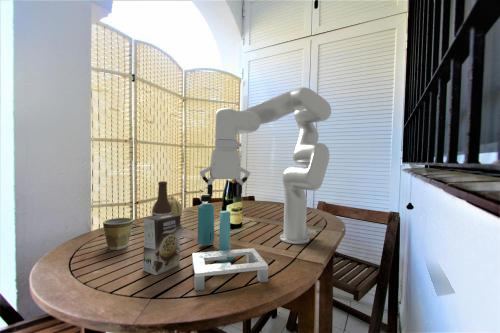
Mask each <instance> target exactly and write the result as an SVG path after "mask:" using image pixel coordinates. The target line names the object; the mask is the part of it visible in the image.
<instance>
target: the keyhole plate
mask: <svg viewBox="0 0 500 333" xmlns="http://www.w3.org/2000/svg"><path fill="white" fill-rule="evenodd" d="M231 256H234V257H239V256H240V257H241V256H246V263H239V264H238V263H236V264H232V263H231V262H219V263H212V264H206V263H205V262H208V261H210V262H211V261H216V260H222V259H227V257H231ZM191 257H192V258H191V262H192V263H191V264H192V265H191V267H192V272H193V271H194V282H193V283H194V291H202V290H203V291H204V290H205V277H207V276H217V275H226V274H236V273H245V272H254V271H255V272H256V271H257V272H256V276H257V277H256V279H257V281H258V282H259V283H268V282H269V265H268V264H267V262H266V261H265V260H264V258H263V257H262V256H261V255H260V253H259V252H258V251H257V250H256V249H255V248H254V247H253V248H251V247H250V248H241V249H240V248H239V249H230V250H225V251H219V250H214V251H204V252H192V256H191Z"/></svg>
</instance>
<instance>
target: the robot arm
mask: <svg viewBox="0 0 500 333" xmlns="http://www.w3.org/2000/svg"><path fill="white" fill-rule="evenodd" d="M292 113H293V114H294V119H295V122H296V124H297V126H298V129H299V135H298V139H297V142H296V144H295V148H294V151H293V154H292V160H293V162H294V163H295V164H296V165H295V166H289V167H287V168H286V169H284V171H283V173H282V184H283V192H284V195H283V196H284V198H283V199H284V203H283V206H284V208H283V233H281V234H280V236H279V239H280V241H282V242H284V243H288V244H291V245H292V244H293V245H303V244H304V245H305V244H307V243H309V242H310V237H309V236H310V235H312V236H316V235H317V230H315V229H307V212H308V211H307V209H308V208H307V205H308V204H307V203H308V199H307V193H306V192H305V191H310V192H311V191H312V192H314V191H318V190H319V189H320V188H321V186H322V185H323V183H324V182H323V181H324V179H325V176H326V172H327V169H328V166H329V163H330V162H329V161H330V150H329V147H328V146H327V145H326V144H325V143H321V142H318V141H319V131H318V130H317V128H316V126H315V124H314V123H319V122H325V121H327V120H328V119H330V116H331V115H332V107H331V104H330V103H329V101H327V100H326V99H325V98H324V97H322V96H321V95H320V94H319V93H317V92H316V91H314V90H312V89H311V88H308V87H304V86H303V87H300V88H297V89H293V90H289V91H286V92H283V93H281V94H278V95H276V96H275V97H272V98H269V99H267V100H264V101H262V102H260V103H258V104H256V105H253V106H251V107H249V108H246V109H243V110H236V109H233V108H219V109H217V111H216V112H215V127H214V128H215V133H214V134H215V135H214V149H212V150H211V155H210V162H209V164H210V165H209V166H207V167H206V168H204V169H202V170H200V171H199V175H200V176H201V179H202V180H203V182H205V183H206V185H207V189H206V190H207V194H206V195H209V196H210V197H211V198H212V197H213V187H214V186H213V184H212V183H213V182H214V181H215V180H235V181H236V182H237V184H236V196H237V197H241V195H242V194H243V185H244V184H245V183H246V182H247V181H248V179H249V176H250V175H251V172H250V171H249V170H247V169H245V168H243V167H242V166H241V157H240V150H238V148H242V143H240V142H239V141H238V135H242V134H244V135H245V134H252V133H254V132H256V131H258V130H259V128H260V127H261V125H265V124H269V123H273V122H276V121H278V120H280V119H282V118H284V117H285V116H288V115H290V114H292ZM297 165H298V166H297ZM206 173H209V176H210V177H209V179H208V177H207V176H206ZM241 173H243V174H244V175H243V177H242V178H241V175H242V174H241Z"/></svg>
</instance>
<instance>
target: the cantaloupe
mask: <svg viewBox="0 0 500 333" xmlns="http://www.w3.org/2000/svg"><path fill="white" fill-rule="evenodd" d="M167 198H168V201H169V203H170V204H171V207H172V214H176V215H181V216H180V218H182V213H183V207H182V204H181V203H180V202H179V200H178V199H176V198H175V196H173V195H172V196H167ZM156 202H157V200H156V201H155V202H154V203H153V205H152V208H151V212H150V213H151V216H153V207H154V205H155V203H156Z"/></svg>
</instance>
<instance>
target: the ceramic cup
mask: <svg viewBox="0 0 500 333" xmlns="http://www.w3.org/2000/svg"><path fill="white" fill-rule="evenodd" d="M133 222H134V219H133V218H129V217H116V218H115V217H114V218H110V219H106V220H103V222H102V226H103V231H104V236H105V241H106V245H107V248H108V249H109V250H111V251H112V250H113V251H116V250H117V251H119V250H122V249H125V248H127V247H128V246H129V244H130V237H131V231H132V228H133V224H134V223H133Z"/></svg>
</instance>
